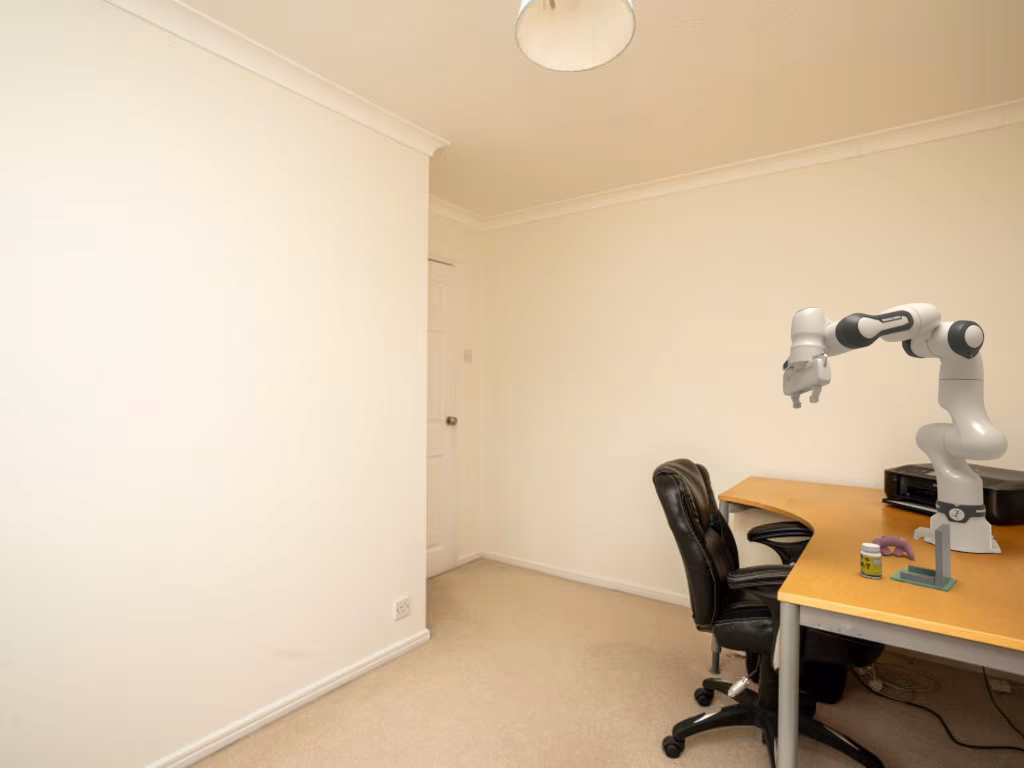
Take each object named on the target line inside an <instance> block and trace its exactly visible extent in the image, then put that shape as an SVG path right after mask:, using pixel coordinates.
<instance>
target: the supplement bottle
mask: <svg viewBox="0 0 1024 768" xmlns="http://www.w3.org/2000/svg"><path fill="white" fill-rule="evenodd" d="M879 552H880V546H879V545H877V544H872V543H870V542H863V543H861V551H860V553H859V555H860V556H859V557H860V559H859V560H860V575H861V576H862V577H863V578H866V577H867V579H870V578H872V579H871V580H880V579H882V578H883V560H882V559H883V558H882V556H883V554H882V553H879Z"/></svg>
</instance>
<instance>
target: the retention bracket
mask: <svg viewBox="0 0 1024 768" xmlns="http://www.w3.org/2000/svg"><path fill="white" fill-rule="evenodd" d="M921 537H923V538H925V537H928V538H934V539H935V545H934V550H935V551H934V555H935V557H934V558H935V559H934V560H935V569H933V568H928V567H922V566H917V565H912V564H908V565H907V569H908V571H909V572H914V573H919V574H924V575H929V576H934V577H936V587H941V588H943V587H944V586H945V585H946V584H947V583H948V582H949V580H950V579H951V578H952V564H951V563H952V561H951V560H952V559H951V558H952V556H951V549H950V525H949V524H942V525H941V526H940V527H938V528H937V529H932V528H930V527H925V526H924V527H923V526H919V527H918V528H916V529H915V530H914V534H913V540H917V541H918V540H919V539H921ZM900 579H905V580H910V581H915V582H919V583H924V584H929V585H935V578H931V577H926V576H921V575H916V574H911V573H906V572H900Z"/></svg>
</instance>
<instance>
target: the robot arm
mask: <svg viewBox="0 0 1024 768" xmlns="http://www.w3.org/2000/svg"><path fill="white" fill-rule="evenodd" d="M941 314H942V313H941V312H940V310H939V308H938V307H937V306H936V305H934V304H933V303H929V302H914V303H913V302H911V303H906V304H899V305H895V306H892V307H890V308H887V309H885V310H883V311H881V312H879V313H878V314H876V315H875V314H874V315H871V314H867V313H861V312H856V313H855V312H854V313H851V314H849V315H846V316H845V317H844V318H841V319H838V320H836V321H832V320H831V319H829V317H827V316H826V315H825V314H824V312H823V309H822V308H821V307H816V306H814V307H806V308H803V309H801V310H798V311H797V312H796V313H794V314H793V316H792V320H791V328H790V340H791V347H790V350H789V351H790V352H789V355H788V357H787V358H786V360H785V361H784V363H783V364H782V367H781V371H784V372H783V375H782V391H783V395H784V396H788V397H790V399H791V402H792V408H793V409H795V410H796V409H797V410H798V409H800V408H802V402H801V401H800V398H801V395H803V394H805V393H808V392H811V395H810V396H809V403H811V404H816V403H817V404H818V402H819V399H820V396H821V392H822V389H823V387H825V386H827V385H830V383H831V381H832V380H831V379H832V370H831V363H830V361H829V359H828V358H829V357H831V358H832V357H836V356H840V355H843V354H845V353H848V352H852V351H855V350H858V349H863V348H867V347H870V346H871V345H873V344H874V343H876V341H877V340H878V339H881V340H883V341H885V342H888V343H894V342H895V343H896V342H897V343H898V342H901V347H902V349H903V350H904V352H905V353H906V355H907V356H909V357H910V358H911V357H912V358H917V359H925V358H927V359H928V358H930V359H939V361H940V366H939V371H938V372H939V373H938V387H937V388H938V389H937V393H938V394H937V403H938V404H939V406H940V408H942V409H943V410H946V411H947V412H948V414H949V416H950V417H951V421H952V423H949V422H936V423H928V424H924V425H922V426H920V427H919V428H918V430H917V431H916V434H915V443H916V445H917V447H918V449H919V450H921V451H922V452H923V453H924V454H925V455H926V456H927V458H928V460H929V461H930V463H931V465H932V467H933V470H934V473H935V478H936V485H937V487H936V488H937V499H936V501H935V507H936V508H935V509H936V513H935V514H933V515H932V516H930V526H929V528H932V529H937V528H938V527H940V526H941V525H942V524H949V525H950V550H952V551H958V552H963V553H966V552H967V553H973V554H975V553H977V554H982V553H983V554H987V553H989V554H1002V549H1001V548H1000V546H999V543H998V542H997V540H995V536H994V535H992V524H991V523H990V522H989V521H987V519H986V511H987V510H986V509H987V508H986V504H984V489H983V488H984V487H983V485H984V484H983V479H982V477H980V475H979V474H977V473H976V472H974V471H973V470H972V469H971V467H970V466H969V463H968V460H971V461H977V462H979V461H981V462H983V461H993V460H998V459H1000V458H1002V457H1003V456H1004V455H1005V453H1006V452H1007V449H1008V439H1007V437H1006V435H1005V434H1004V432H1003V431H1002V430H1000V429H999V428H998V427H996V426H995V425H994V423H993V422H992V421H991V418H990V417H989V415H988V413H987V410H986V406H985V398H984V397H985V396H984V394H985V392H984V389H985V388H984V387H985V386H984V383H985V373H984V364H983V358H982V354H981V352H980V350H981V349H982V347H983V344H984V343H985V333H984V330H983V329H982V327H981V325H980V324H978V323H977V322H976V321H973V320H969V319H968V320H963V319H960V320H955V321H952V320H951V321H941V319H942V315H941ZM923 541H924V542H926V543H931V544H932V545H934V546H935V539H934V538H928V537H923Z"/></svg>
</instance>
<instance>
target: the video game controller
mask: <svg viewBox="0 0 1024 768" xmlns="http://www.w3.org/2000/svg"><path fill="white" fill-rule="evenodd" d="M872 544H877V545H879V546H880V552H879V553H881V555H882V556H886V555H887V556H889V555H890V554H891V553H892V551H891V548H889V547H894V550H893V555H894V556H895V557H898V556H900V557H902V556H903V554H904V553H905V554H906V556H908V558H909V560H911V561H913V560H915V553H914V550H913V548H912V546H911V544H910V542H908V541H907V540H906V538H902V537H898V536H893V535H884V536H877V537H875V538H874V539H873V540H872Z"/></svg>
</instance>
